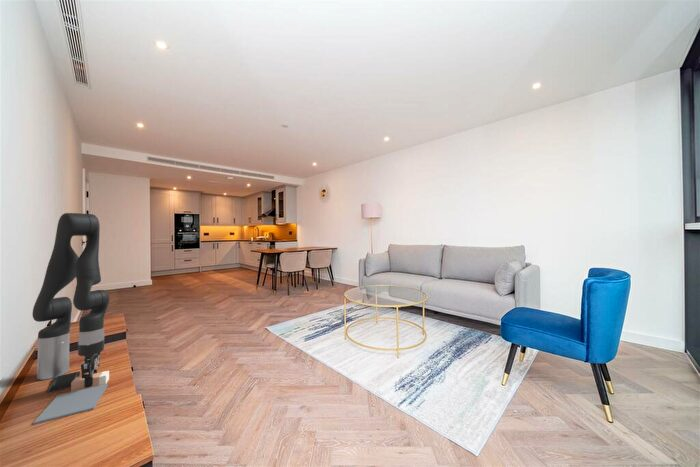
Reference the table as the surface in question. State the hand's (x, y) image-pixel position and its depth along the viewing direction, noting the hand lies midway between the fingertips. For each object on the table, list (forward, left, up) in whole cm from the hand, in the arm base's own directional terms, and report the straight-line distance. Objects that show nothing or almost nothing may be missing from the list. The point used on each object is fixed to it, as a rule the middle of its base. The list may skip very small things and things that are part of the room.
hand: (90, 383), depth 106 cm
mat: (+13, -1, -1) cm, 13 cm away
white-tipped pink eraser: (0, 0, -1) cm, 1 cm away
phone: (-9, -10, -1) cm, 14 cm away
